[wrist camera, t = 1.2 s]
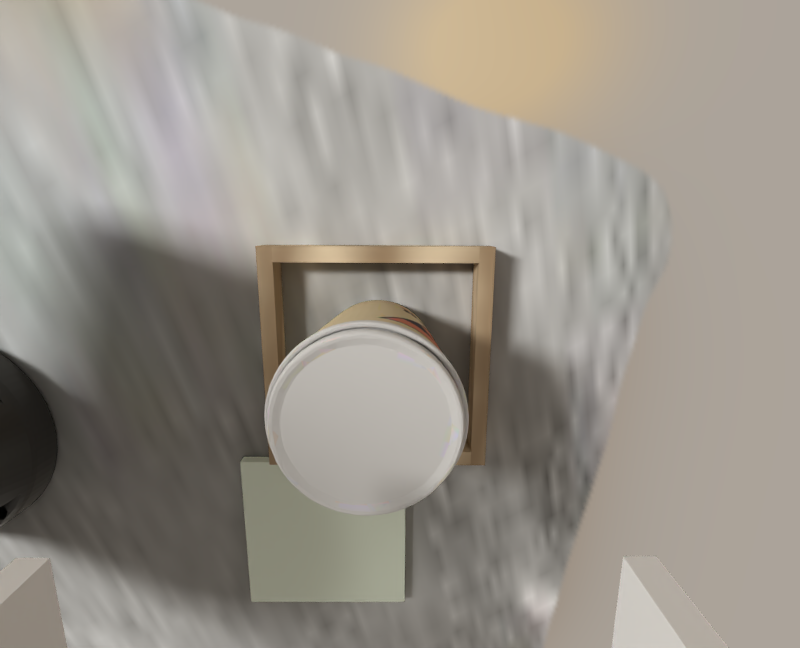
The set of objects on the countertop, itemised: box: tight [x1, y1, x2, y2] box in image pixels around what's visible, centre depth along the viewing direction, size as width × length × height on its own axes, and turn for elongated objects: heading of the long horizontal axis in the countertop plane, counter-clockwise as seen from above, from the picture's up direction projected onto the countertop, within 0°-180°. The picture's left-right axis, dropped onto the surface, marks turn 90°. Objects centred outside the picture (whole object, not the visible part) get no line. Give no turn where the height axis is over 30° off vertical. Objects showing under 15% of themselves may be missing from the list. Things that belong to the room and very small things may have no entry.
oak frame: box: [255, 245, 496, 465], centre depth 30 cm, size 15×15×2 cm
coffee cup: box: [264, 300, 469, 516], centre depth 25 cm, size 9×9×12 cm
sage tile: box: [240, 457, 405, 602], centre depth 34 cm, size 12×12×1 cm
